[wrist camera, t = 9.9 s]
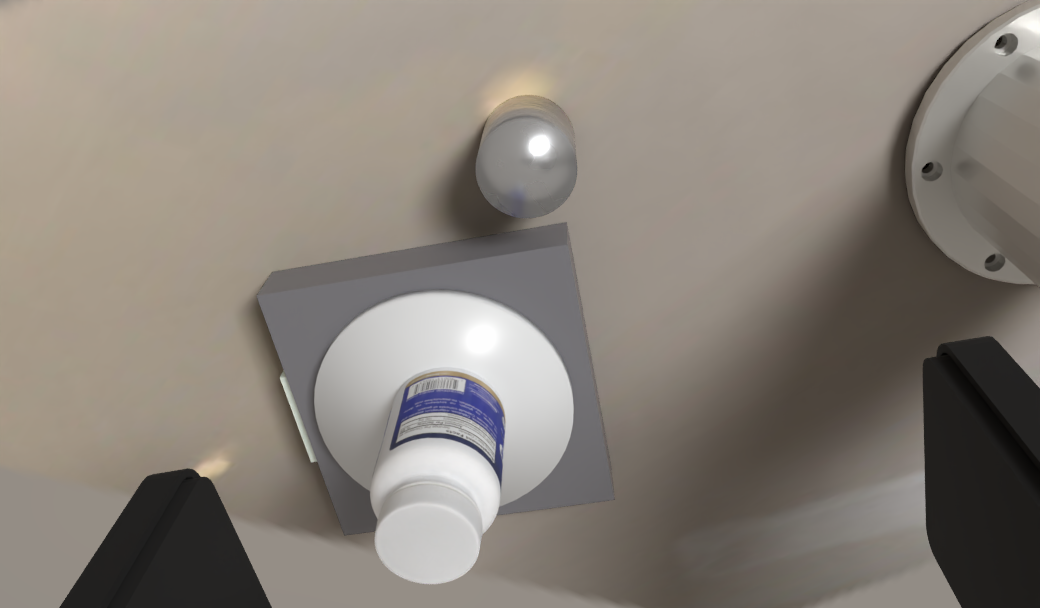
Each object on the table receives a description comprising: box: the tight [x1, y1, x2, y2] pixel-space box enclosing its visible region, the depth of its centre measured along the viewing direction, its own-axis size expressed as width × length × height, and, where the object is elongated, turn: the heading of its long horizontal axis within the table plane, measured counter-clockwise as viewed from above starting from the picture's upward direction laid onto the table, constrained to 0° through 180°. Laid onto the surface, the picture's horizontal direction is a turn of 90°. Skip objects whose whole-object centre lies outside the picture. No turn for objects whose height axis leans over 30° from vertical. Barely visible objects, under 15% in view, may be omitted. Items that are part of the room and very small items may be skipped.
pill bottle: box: [370, 367, 506, 584], centre depth 37 cm, size 5×5×9 cm
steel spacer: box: [476, 95, 577, 218], centre depth 36 cm, size 4×4×4 cm
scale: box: [257, 222, 615, 535], centre depth 42 cm, size 14×14×3 cm
